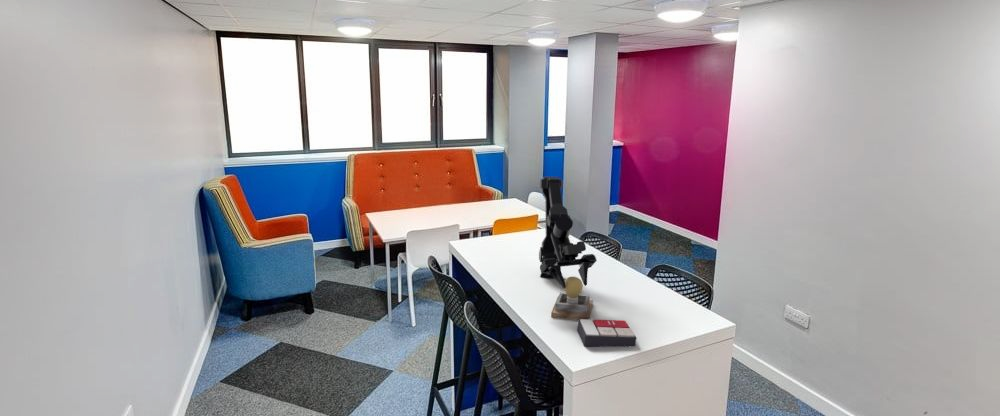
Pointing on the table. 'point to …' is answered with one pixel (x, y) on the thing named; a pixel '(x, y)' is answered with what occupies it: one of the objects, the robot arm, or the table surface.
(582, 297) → the square frame
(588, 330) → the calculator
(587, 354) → the table surface
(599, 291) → the table surface
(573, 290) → the light bulb
